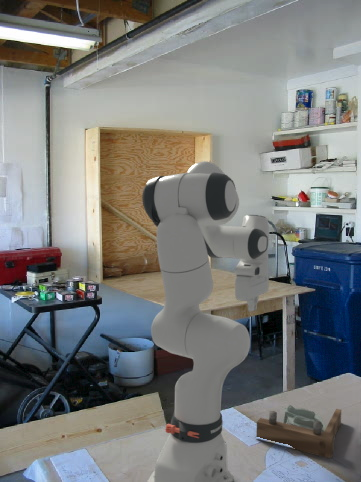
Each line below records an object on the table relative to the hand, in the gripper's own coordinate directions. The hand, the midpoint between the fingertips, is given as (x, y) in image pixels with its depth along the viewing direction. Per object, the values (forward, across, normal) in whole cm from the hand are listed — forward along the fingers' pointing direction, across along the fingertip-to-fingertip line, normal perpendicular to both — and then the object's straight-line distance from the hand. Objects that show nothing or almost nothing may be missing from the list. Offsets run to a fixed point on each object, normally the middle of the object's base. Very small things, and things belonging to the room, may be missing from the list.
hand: (252, 310), depth 158 cm
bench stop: (+31, +9, +20) cm, 38 cm away
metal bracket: (+31, +6, +20) cm, 38 cm away
